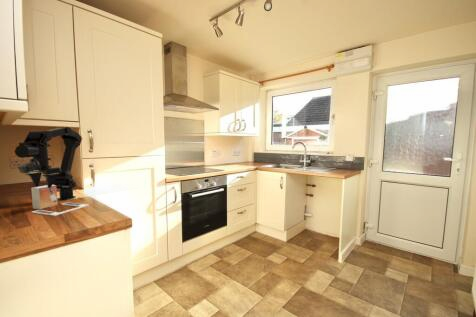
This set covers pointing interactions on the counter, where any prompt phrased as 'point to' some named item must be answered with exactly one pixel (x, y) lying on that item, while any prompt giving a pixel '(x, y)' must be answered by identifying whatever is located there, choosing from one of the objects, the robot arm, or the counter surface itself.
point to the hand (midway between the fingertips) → (43, 187)
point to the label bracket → (60, 212)
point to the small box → (44, 196)
